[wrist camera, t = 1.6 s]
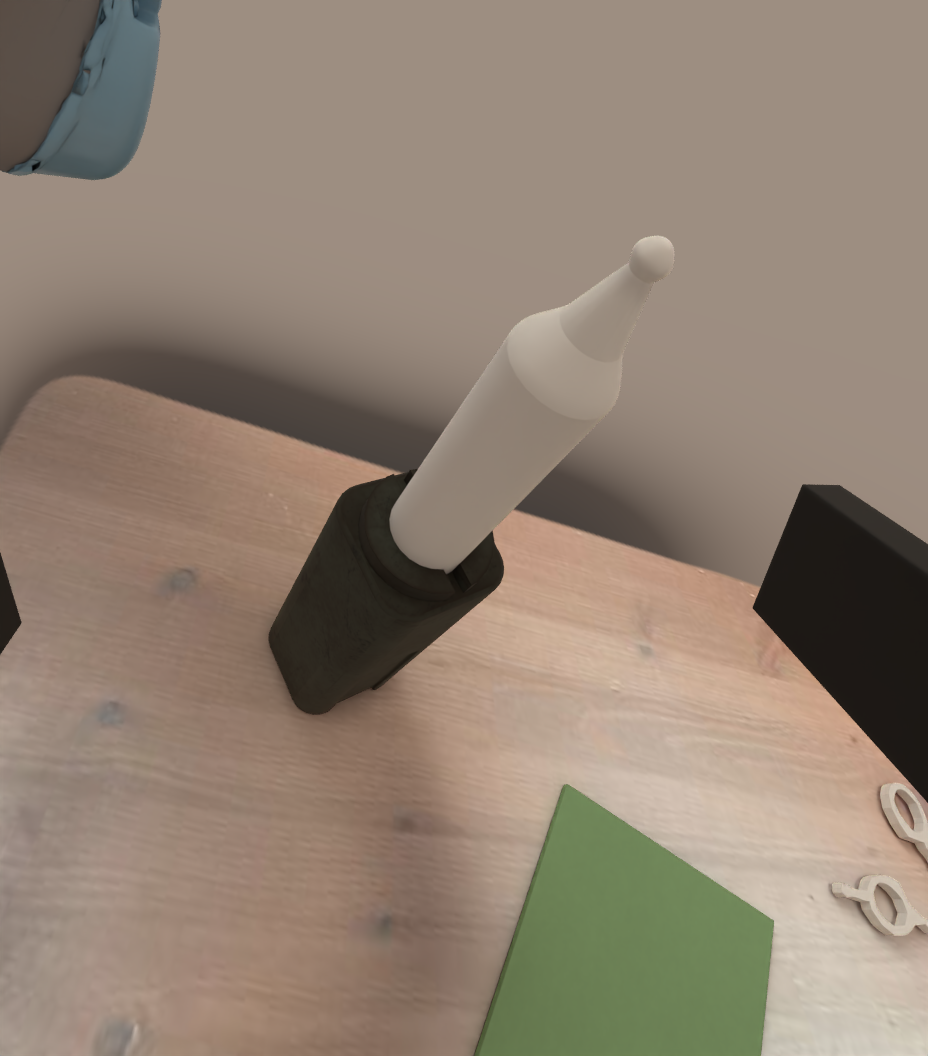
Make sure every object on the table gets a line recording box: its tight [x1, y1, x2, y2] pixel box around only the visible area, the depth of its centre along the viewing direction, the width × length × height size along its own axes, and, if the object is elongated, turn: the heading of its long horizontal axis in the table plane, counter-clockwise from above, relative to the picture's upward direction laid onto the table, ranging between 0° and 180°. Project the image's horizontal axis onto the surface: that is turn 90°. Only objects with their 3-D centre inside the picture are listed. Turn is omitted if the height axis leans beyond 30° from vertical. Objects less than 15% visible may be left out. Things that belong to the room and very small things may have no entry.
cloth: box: [474, 784, 774, 1056], centre depth 29 cm, size 14×16×1 cm
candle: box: [269, 236, 674, 714], centre depth 22 cm, size 5×5×25 cm
